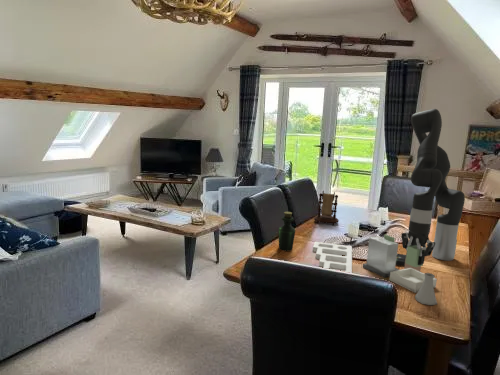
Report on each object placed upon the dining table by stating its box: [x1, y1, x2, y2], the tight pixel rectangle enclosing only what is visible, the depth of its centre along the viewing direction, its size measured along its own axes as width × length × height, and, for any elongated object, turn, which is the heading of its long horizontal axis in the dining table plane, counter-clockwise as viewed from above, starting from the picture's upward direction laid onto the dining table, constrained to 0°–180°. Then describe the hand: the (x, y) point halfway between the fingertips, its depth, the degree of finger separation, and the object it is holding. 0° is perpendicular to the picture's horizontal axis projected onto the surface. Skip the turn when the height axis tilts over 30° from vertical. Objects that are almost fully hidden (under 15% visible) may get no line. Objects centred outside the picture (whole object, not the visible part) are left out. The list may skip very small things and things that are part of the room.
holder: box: [312, 241, 353, 273], centre depth 164 cm, size 45×18×3 cm, turn 165°
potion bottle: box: [278, 211, 296, 252], centre depth 179 cm, size 8×8×18 cm
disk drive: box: [395, 253, 406, 267], centre depth 172 cm, size 10×3×15 cm
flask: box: [414, 272, 438, 306], centre depth 133 cm, size 7×7×10 cm
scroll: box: [313, 190, 339, 226], centre depth 231 cm, size 15×15×20 cm
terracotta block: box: [403, 259, 422, 272], centre depth 159 cm, size 4×4×7 cm
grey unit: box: [362, 234, 400, 279], centre depth 159 cm, size 10×12×15 cm
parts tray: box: [389, 268, 438, 294], centre depth 148 cm, size 12×12×4 cm
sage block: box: [405, 245, 424, 267], centre depth 146 cm, size 4×4×7 cm
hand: (414, 262), depth 146 cm, fingers closed on sage block, 4 cm apart
